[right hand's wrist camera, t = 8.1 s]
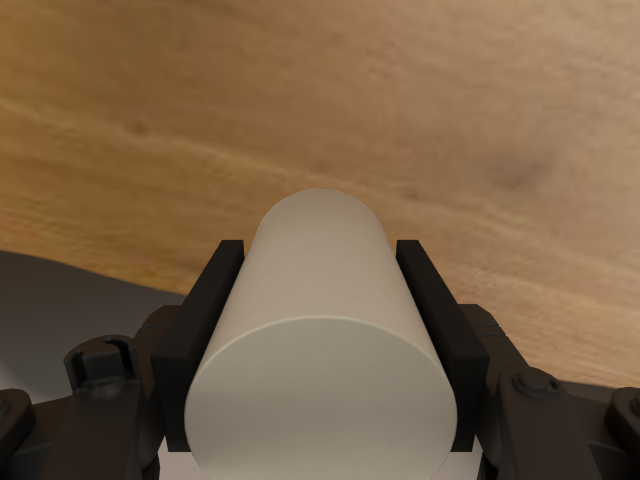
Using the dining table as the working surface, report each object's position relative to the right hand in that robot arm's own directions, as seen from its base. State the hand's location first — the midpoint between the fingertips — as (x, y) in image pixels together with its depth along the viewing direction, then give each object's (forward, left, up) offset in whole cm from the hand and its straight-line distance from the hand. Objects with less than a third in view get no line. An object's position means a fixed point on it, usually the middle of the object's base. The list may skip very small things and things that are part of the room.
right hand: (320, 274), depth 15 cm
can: (0, 0, -2) cm, 2 cm away
